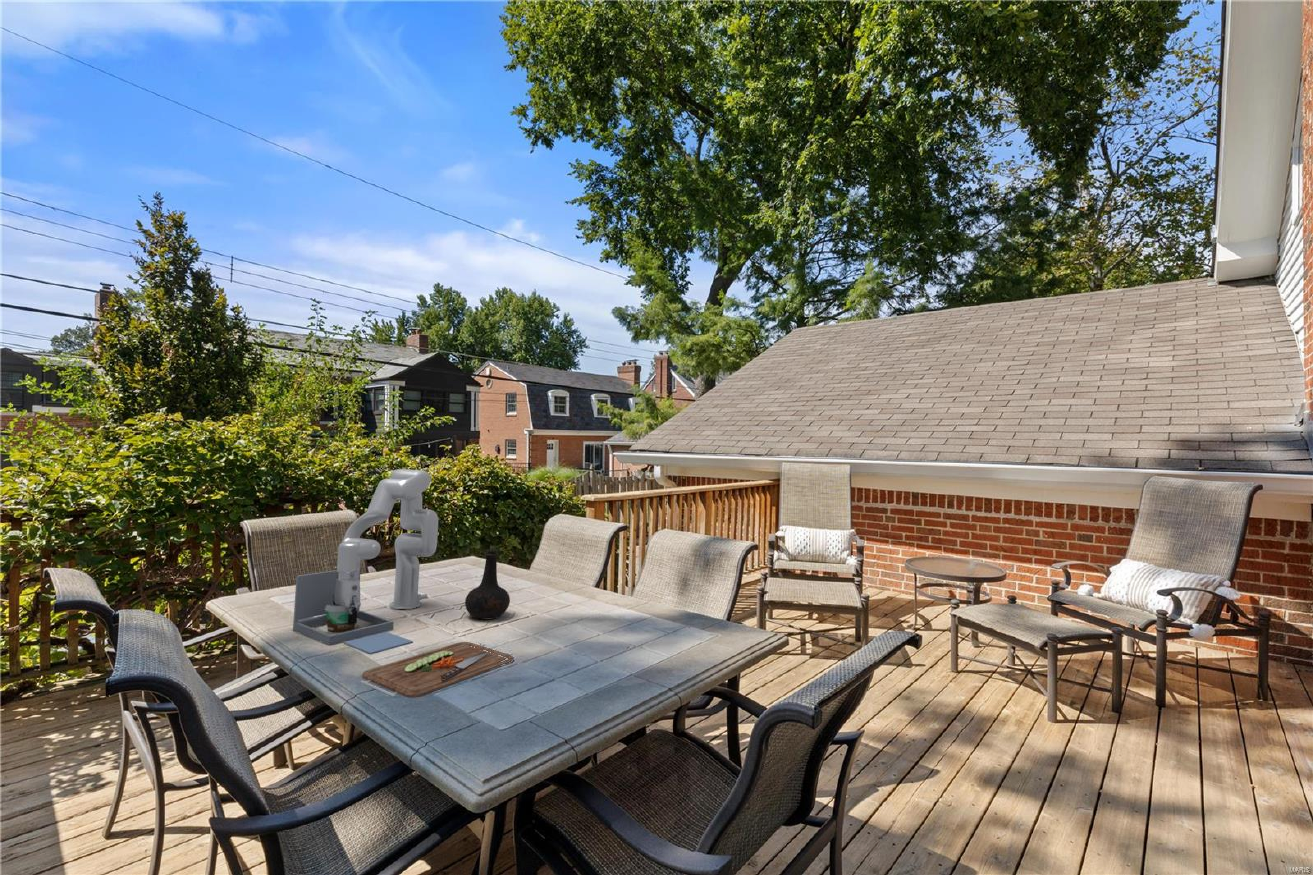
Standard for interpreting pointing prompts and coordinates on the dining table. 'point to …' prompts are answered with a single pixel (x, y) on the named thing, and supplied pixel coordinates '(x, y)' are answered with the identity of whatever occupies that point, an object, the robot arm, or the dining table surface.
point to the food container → (338, 619)
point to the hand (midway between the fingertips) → (345, 621)
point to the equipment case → (311, 611)
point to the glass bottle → (488, 592)
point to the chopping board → (435, 669)
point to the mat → (378, 642)
